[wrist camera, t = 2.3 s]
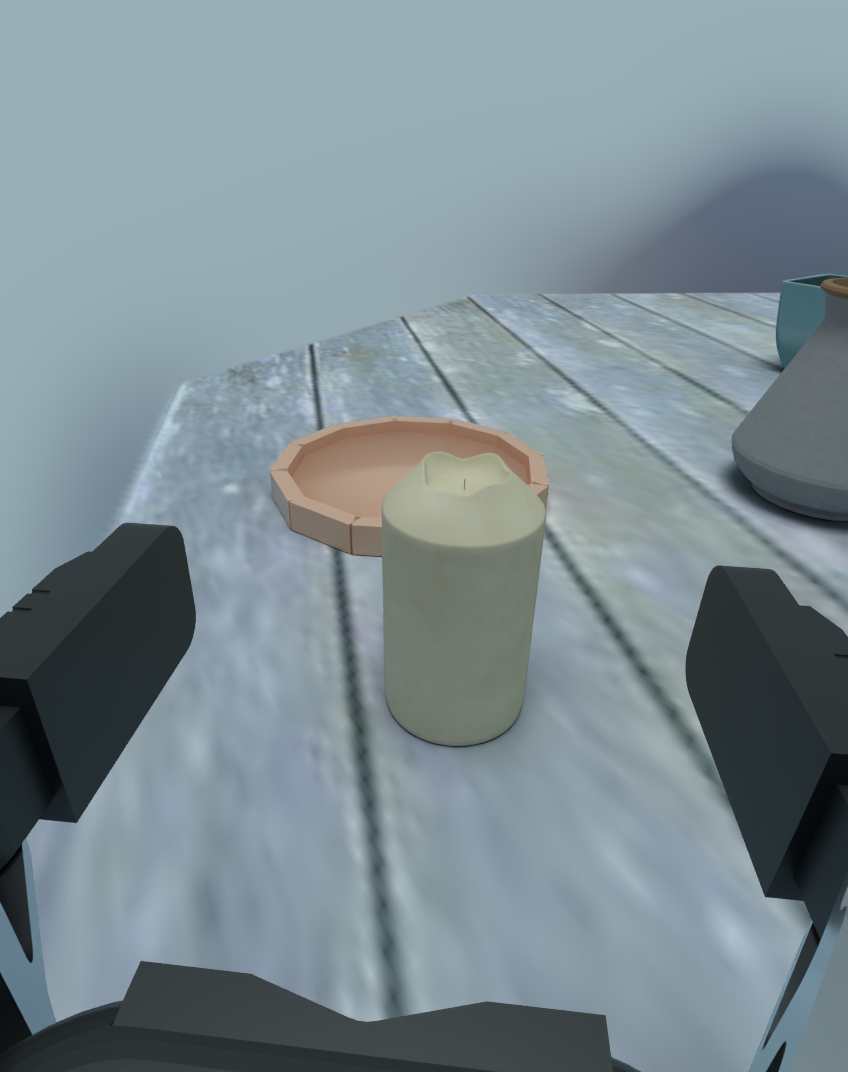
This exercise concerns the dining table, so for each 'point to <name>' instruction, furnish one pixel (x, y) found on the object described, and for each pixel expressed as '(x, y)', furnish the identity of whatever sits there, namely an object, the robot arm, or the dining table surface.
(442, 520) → the candle
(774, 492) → the coffee pot
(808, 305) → the flower pot
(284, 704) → the dining table surface
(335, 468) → the saucer
